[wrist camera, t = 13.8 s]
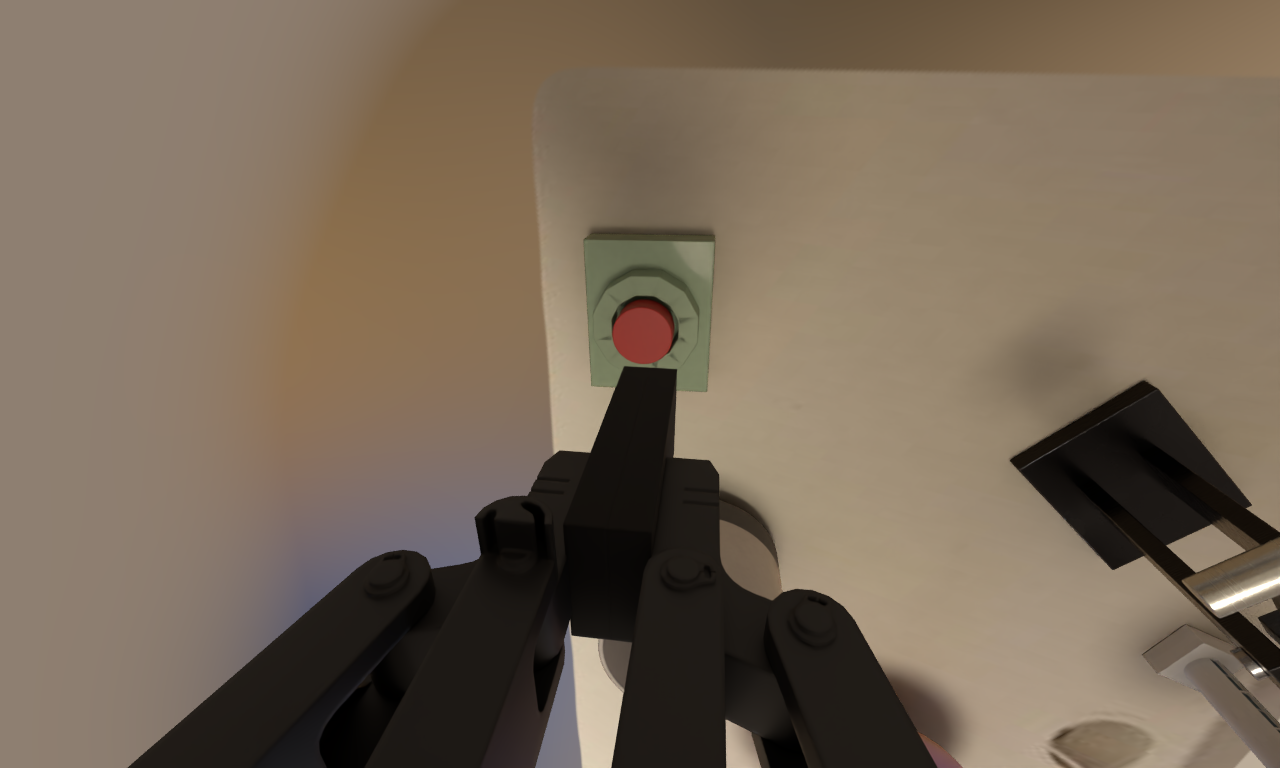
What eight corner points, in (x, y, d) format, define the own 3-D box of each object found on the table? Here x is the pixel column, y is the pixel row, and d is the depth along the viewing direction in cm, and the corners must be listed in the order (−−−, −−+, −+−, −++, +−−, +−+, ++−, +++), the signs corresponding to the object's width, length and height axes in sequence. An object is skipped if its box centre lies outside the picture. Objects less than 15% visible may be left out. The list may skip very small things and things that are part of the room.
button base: (590, 233, 34) (576, 244, 30) (715, 235, 33) (715, 247, 29) (597, 373, 38) (585, 398, 34) (707, 378, 37) (706, 404, 33)
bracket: (1009, 460, 36) (1176, 643, 23) (1143, 380, 33) (1432, 543, 20) (1102, 558, 39) (1301, 775, 26) (1237, 494, 35) (1548, 707, 22)
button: (616, 297, 31) (610, 306, 30) (675, 299, 31) (673, 308, 29) (617, 352, 33) (612, 363, 31) (674, 355, 33) (671, 366, 31)
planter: (800, 513, 41) (824, 624, 31) (744, 619, 46) (751, 741, 37) (644, 467, 41) (622, 565, 31) (608, 578, 47) (580, 689, 37)
